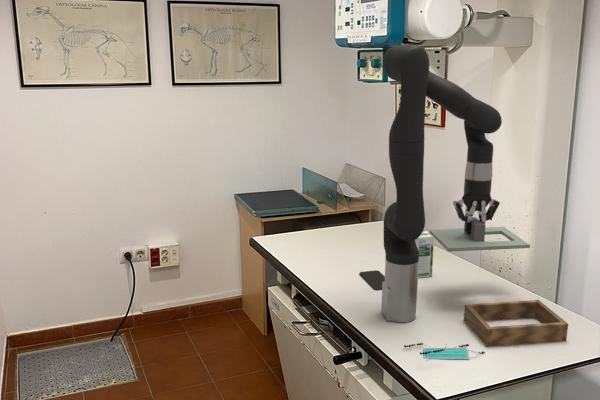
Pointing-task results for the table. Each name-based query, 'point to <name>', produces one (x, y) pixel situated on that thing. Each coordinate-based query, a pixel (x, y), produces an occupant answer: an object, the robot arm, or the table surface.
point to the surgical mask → (444, 353)
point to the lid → (476, 238)
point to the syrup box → (425, 254)
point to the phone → (373, 279)
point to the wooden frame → (515, 334)
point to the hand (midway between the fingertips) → (474, 233)
